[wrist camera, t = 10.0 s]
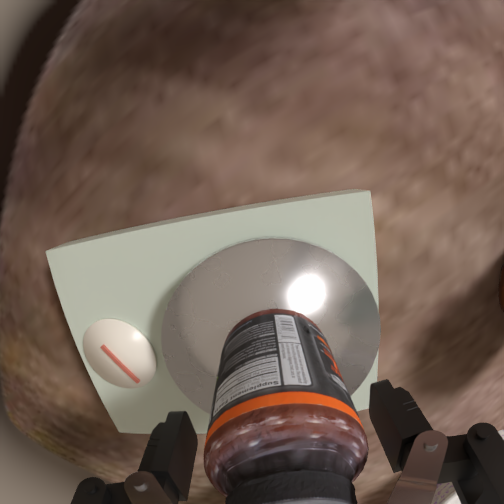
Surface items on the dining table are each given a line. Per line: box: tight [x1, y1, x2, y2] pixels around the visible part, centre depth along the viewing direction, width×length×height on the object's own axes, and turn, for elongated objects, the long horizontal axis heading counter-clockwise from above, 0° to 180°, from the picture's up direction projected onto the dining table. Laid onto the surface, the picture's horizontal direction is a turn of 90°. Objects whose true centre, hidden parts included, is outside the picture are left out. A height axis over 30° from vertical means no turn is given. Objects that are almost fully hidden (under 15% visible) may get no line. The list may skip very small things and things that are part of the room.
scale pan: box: [161, 236, 381, 414], centre depth 18 cm, size 13×13×2 cm
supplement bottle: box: [204, 309, 369, 504], centre depth 12 cm, size 6×6×11 cm
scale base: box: [46, 189, 378, 434], centre depth 20 cm, size 16×21×4 cm
